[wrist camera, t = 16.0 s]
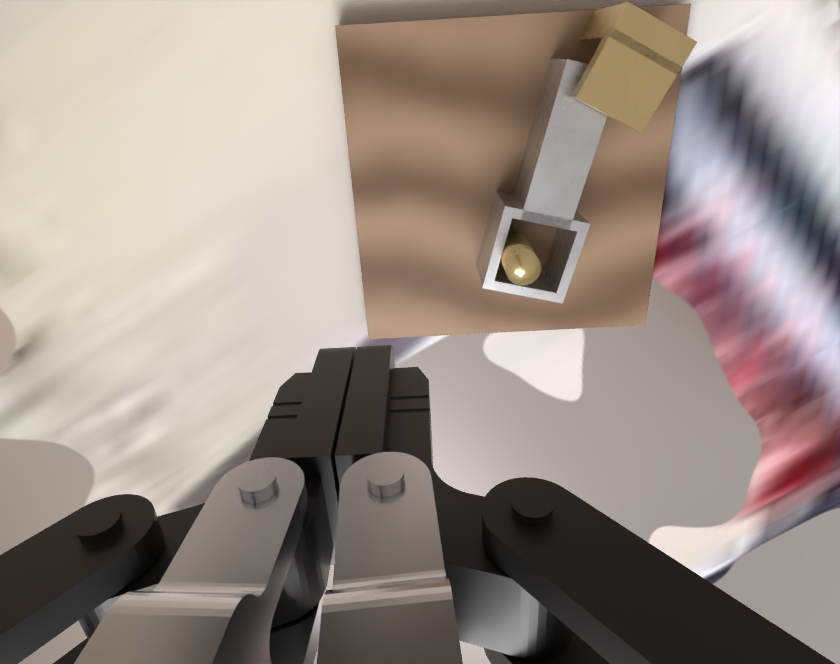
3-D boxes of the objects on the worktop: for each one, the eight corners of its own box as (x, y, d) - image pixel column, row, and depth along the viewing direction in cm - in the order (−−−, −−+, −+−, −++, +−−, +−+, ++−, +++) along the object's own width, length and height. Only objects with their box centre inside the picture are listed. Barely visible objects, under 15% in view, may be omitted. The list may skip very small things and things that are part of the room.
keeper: (608, 121, 34) (641, 132, 29) (551, 91, 33) (576, 97, 28) (653, 44, 32) (697, 42, 27) (594, 10, 31) (628, 1, 26)
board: (337, 26, 32) (334, 25, 31) (681, 5, 32) (690, 3, 31) (370, 331, 41) (368, 339, 40) (639, 317, 41) (645, 324, 40)
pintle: (493, 224, 36) (506, 253, 31) (523, 222, 36) (541, 251, 31) (493, 253, 37) (505, 286, 32) (522, 251, 37) (540, 284, 32)
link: (532, 54, 32) (546, 54, 28) (617, 74, 32) (641, 76, 29) (476, 266, 38) (482, 288, 34) (548, 280, 38) (562, 303, 35)
